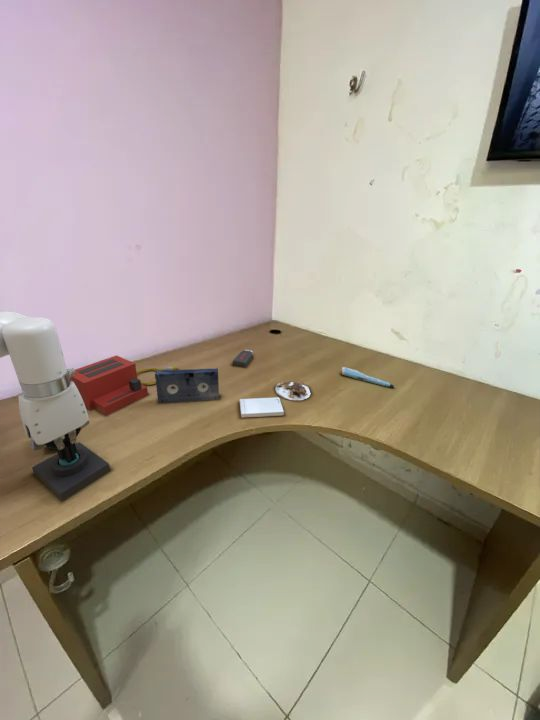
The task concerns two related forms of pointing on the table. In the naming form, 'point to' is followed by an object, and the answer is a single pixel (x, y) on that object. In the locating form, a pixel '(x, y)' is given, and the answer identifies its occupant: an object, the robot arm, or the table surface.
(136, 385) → the toaster slider
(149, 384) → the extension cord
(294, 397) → the plate of food
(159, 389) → the vhs cassette tape
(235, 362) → the usb drive
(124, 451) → the table surface
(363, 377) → the light blue tapered rod
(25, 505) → the table surface
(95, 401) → the toaster
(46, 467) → the control block
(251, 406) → the hard drive
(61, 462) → the button
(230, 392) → the table surface
